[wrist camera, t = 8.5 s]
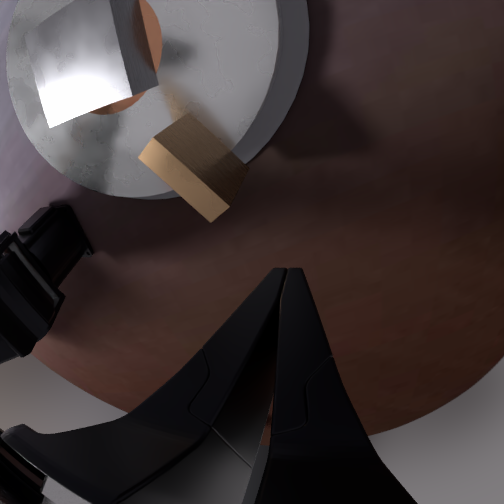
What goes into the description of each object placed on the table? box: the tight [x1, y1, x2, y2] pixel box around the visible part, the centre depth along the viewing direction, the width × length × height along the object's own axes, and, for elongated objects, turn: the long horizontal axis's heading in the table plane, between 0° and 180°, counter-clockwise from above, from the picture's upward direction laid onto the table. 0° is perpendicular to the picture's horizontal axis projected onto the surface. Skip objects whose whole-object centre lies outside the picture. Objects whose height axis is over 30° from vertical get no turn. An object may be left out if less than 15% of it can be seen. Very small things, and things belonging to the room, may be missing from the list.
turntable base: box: [129, 0, 309, 200], centre depth 16 cm, size 25×25×1 cm
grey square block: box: [25, 0, 159, 128], centre depth 13 cm, size 7×7×3 cm
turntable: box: [6, 0, 283, 223], centre depth 13 cm, size 22×22×6 cm
